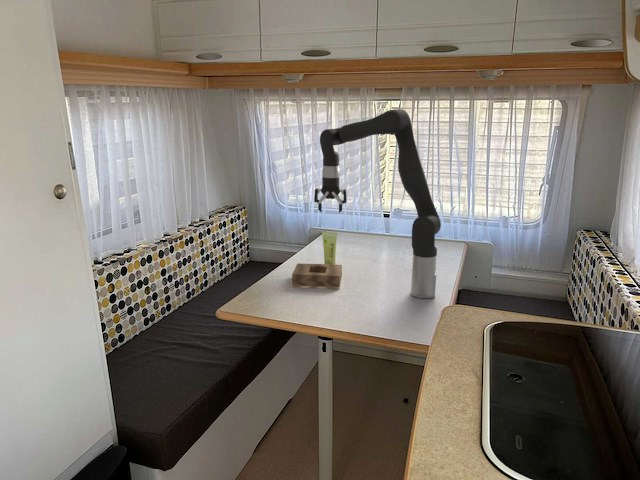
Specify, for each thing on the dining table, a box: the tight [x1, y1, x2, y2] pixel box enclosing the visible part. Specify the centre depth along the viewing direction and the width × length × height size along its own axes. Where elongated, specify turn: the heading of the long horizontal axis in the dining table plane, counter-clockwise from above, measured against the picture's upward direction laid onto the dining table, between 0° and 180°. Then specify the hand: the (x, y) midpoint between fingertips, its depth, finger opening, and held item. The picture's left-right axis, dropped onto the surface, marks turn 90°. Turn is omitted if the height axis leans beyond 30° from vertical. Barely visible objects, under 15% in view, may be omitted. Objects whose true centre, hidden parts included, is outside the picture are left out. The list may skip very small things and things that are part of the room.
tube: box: [321, 230, 338, 265], centre depth 217 cm, size 6×5×20 cm
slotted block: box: [291, 262, 343, 290], centre depth 207 cm, size 20×14×6 cm
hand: (330, 211), depth 213 cm, fingers open, 8 cm apart
